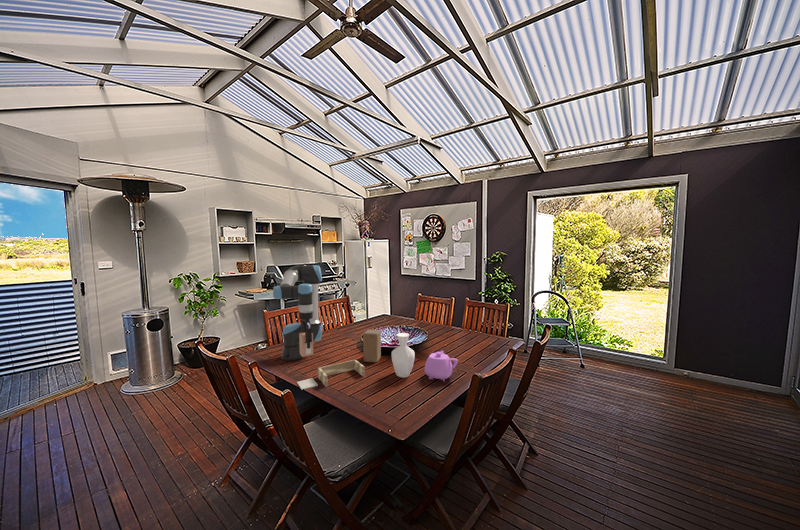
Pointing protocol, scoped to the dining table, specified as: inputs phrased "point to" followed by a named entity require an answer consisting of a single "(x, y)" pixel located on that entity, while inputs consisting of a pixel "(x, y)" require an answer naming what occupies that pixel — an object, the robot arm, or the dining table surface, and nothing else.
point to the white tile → (307, 383)
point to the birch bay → (339, 370)
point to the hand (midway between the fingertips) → (306, 351)
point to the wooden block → (372, 345)
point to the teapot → (439, 365)
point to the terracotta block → (302, 345)
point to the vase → (403, 356)
